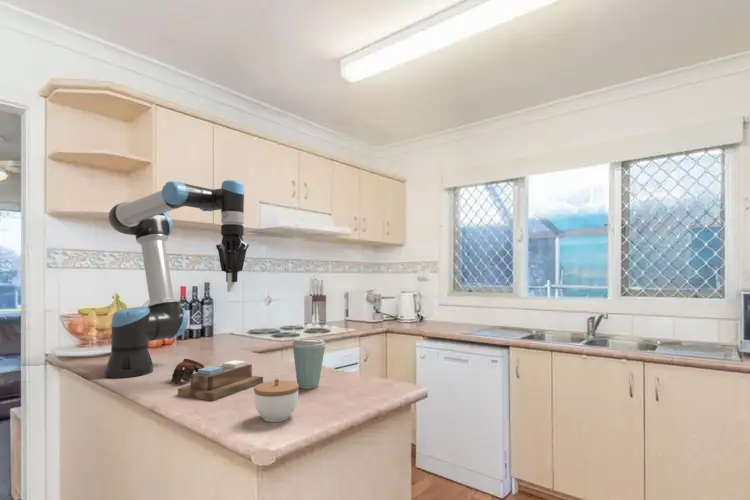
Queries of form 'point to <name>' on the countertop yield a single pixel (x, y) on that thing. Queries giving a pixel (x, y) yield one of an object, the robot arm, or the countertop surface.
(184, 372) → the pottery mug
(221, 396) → the wooden stepped stand
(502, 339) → the countertop surface
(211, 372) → the light blue block
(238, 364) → the white block
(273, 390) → the lidded jar
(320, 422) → the countertop surface
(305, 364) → the disposable coffee cup
